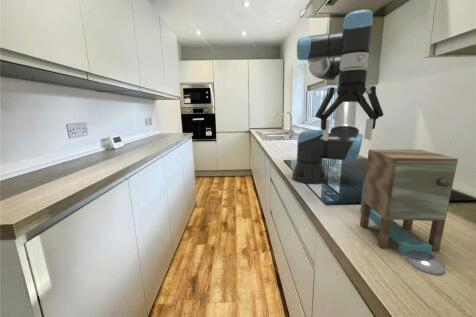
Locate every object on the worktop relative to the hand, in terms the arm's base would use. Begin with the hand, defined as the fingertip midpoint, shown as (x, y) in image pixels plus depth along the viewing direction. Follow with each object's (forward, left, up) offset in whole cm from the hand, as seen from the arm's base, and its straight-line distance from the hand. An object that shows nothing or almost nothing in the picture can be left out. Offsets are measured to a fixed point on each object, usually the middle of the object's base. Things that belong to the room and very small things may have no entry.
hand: (346, 139), depth 72 cm
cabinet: (+19, +7, -23) cm, 31 cm away
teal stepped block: (+16, +7, -23) cm, 29 cm away
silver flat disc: (+30, +7, -23) cm, 39 cm away
